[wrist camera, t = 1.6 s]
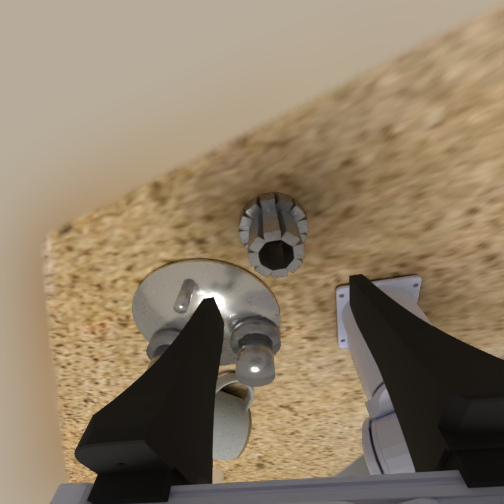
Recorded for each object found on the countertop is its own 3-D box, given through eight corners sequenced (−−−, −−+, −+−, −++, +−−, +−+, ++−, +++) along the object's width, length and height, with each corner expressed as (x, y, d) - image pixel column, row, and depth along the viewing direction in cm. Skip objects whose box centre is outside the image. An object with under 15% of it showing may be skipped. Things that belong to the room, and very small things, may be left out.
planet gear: (307, 245, 22) (319, 280, 18) (248, 255, 23) (246, 291, 19) (300, 186, 19) (313, 211, 15) (233, 200, 20) (227, 227, 16)
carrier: (288, 353, 31) (294, 400, 26) (168, 367, 33) (153, 413, 28) (265, 245, 22) (267, 285, 17) (106, 273, 24) (69, 316, 19)
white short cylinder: (208, 463, 50) (202, 512, 45) (233, 472, 53) (230, 520, 47) (188, 471, 53) (179, 518, 47) (212, 480, 56) (207, 525, 50)
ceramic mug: (230, 412, 39) (225, 475, 32) (182, 397, 37) (167, 462, 30) (267, 380, 34) (271, 446, 28) (215, 360, 32) (206, 427, 25)
